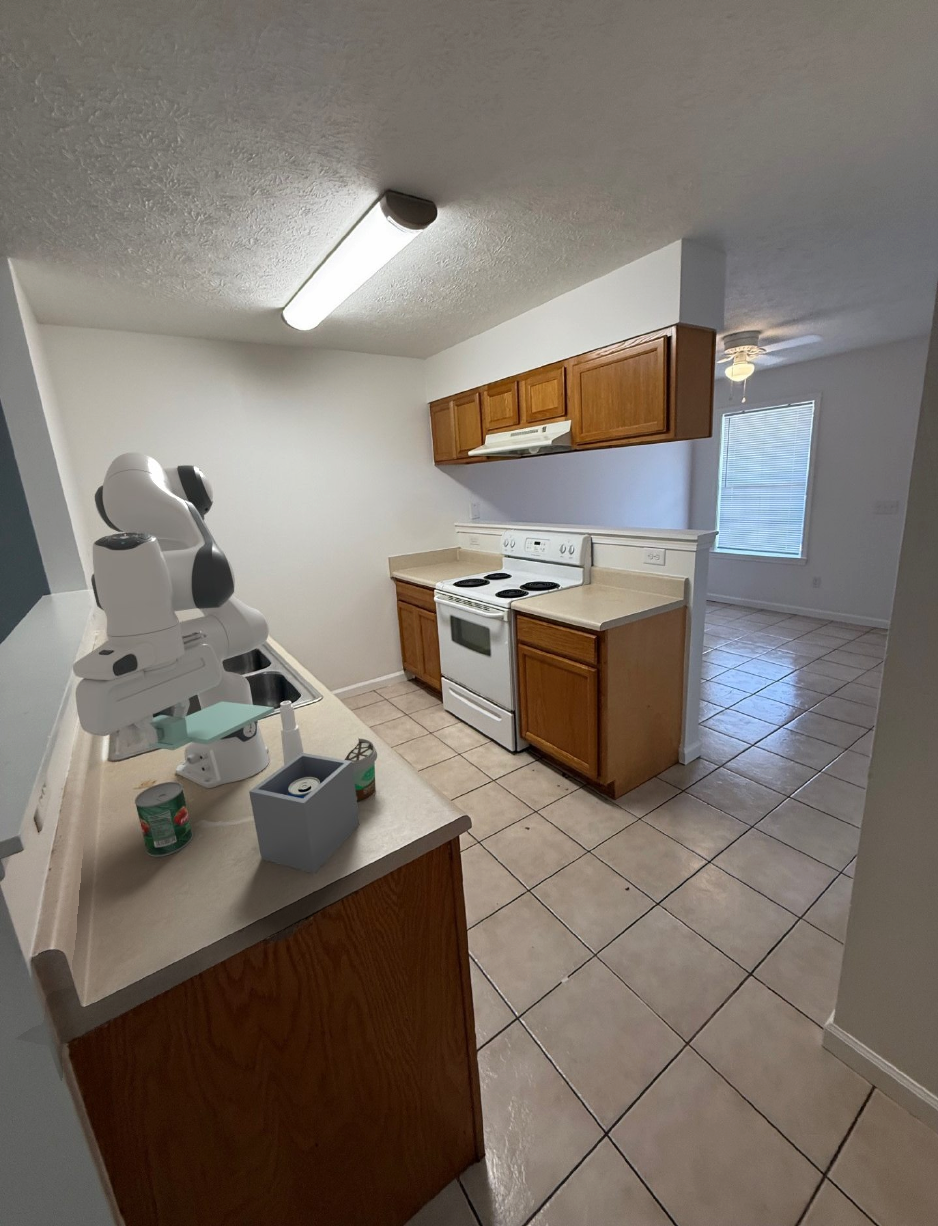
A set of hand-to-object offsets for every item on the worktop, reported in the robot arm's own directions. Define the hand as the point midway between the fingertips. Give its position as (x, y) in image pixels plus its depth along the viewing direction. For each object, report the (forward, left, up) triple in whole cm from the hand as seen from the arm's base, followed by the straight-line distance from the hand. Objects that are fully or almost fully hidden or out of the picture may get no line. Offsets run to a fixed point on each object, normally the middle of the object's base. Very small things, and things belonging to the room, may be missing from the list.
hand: (167, 735), depth 76 cm
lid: (0, +7, -2) cm, 7 cm away
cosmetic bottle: (-6, +30, -31) cm, 43 cm away
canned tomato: (-20, +9, -31) cm, 37 cm away
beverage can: (+7, +18, -31) cm, 36 cm away
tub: (+7, +18, -30) cm, 36 cm away
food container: (+8, +35, -31) cm, 47 cm away
